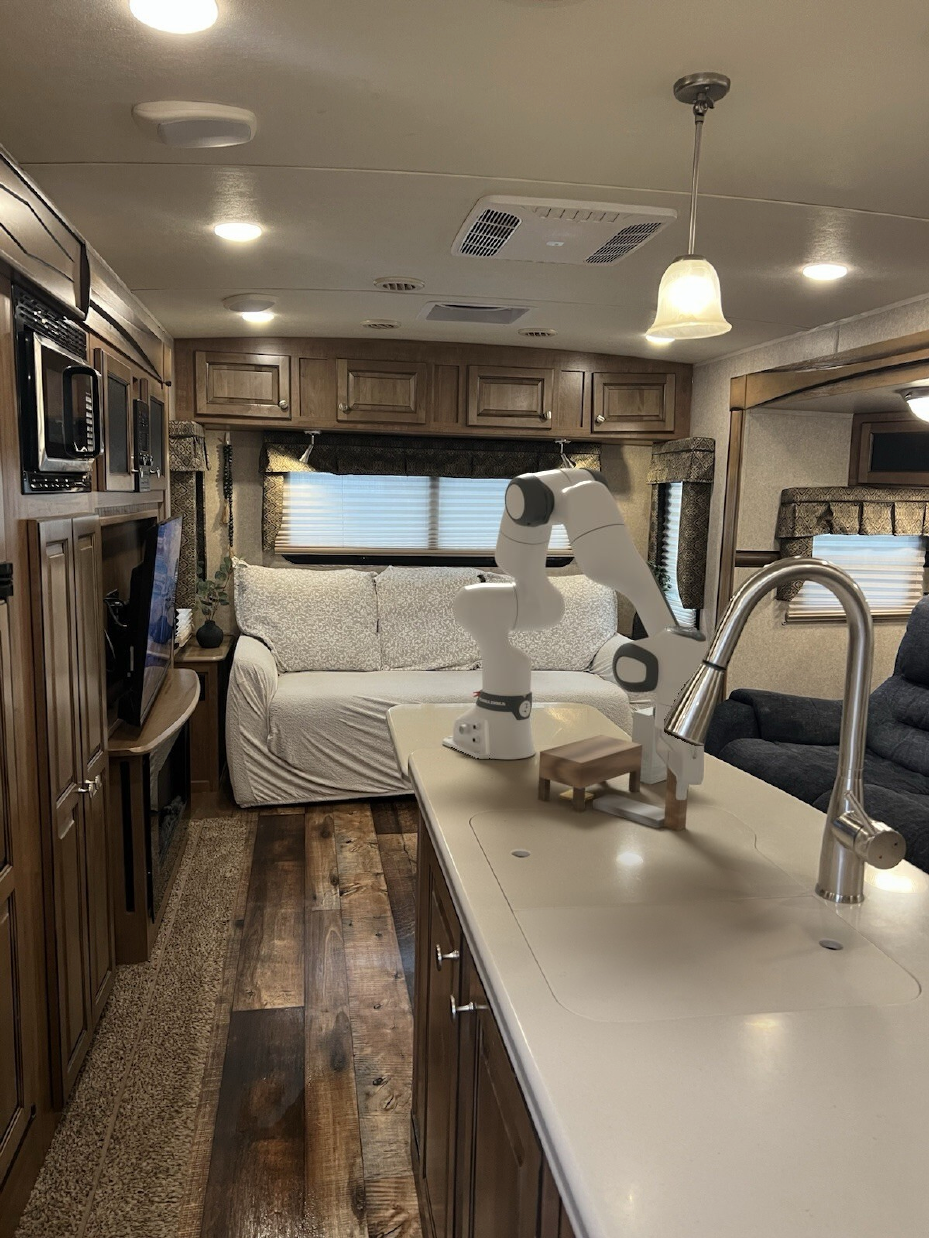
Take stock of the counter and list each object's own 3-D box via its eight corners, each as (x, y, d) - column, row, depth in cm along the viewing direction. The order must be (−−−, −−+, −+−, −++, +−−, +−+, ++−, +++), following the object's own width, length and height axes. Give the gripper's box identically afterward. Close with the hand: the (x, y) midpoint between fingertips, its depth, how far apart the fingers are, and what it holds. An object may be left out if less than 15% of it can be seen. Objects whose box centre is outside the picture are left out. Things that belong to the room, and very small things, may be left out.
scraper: (690, 825, 166) (695, 750, 164) (672, 833, 162) (677, 756, 160) (611, 801, 178) (615, 730, 177) (592, 807, 174) (596, 735, 172)
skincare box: (653, 771, 199) (657, 704, 197) (675, 778, 194) (680, 710, 192) (627, 778, 194) (631, 709, 192) (650, 785, 189) (654, 715, 187)
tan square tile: (558, 799, 180) (558, 794, 180) (572, 793, 184) (572, 788, 184) (580, 805, 177) (580, 800, 177) (594, 799, 181) (594, 794, 181)
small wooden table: (537, 799, 178) (539, 751, 177) (599, 778, 192) (601, 734, 191) (579, 812, 171) (581, 762, 170) (639, 790, 185) (642, 744, 184)
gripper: (715, 733, 152) (710, 813, 154) (683, 706, 173) (679, 777, 174) (678, 732, 152) (673, 813, 154) (650, 705, 172) (646, 776, 174)
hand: (676, 793), depth 164 cm, fingers closed on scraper, 4 cm apart
